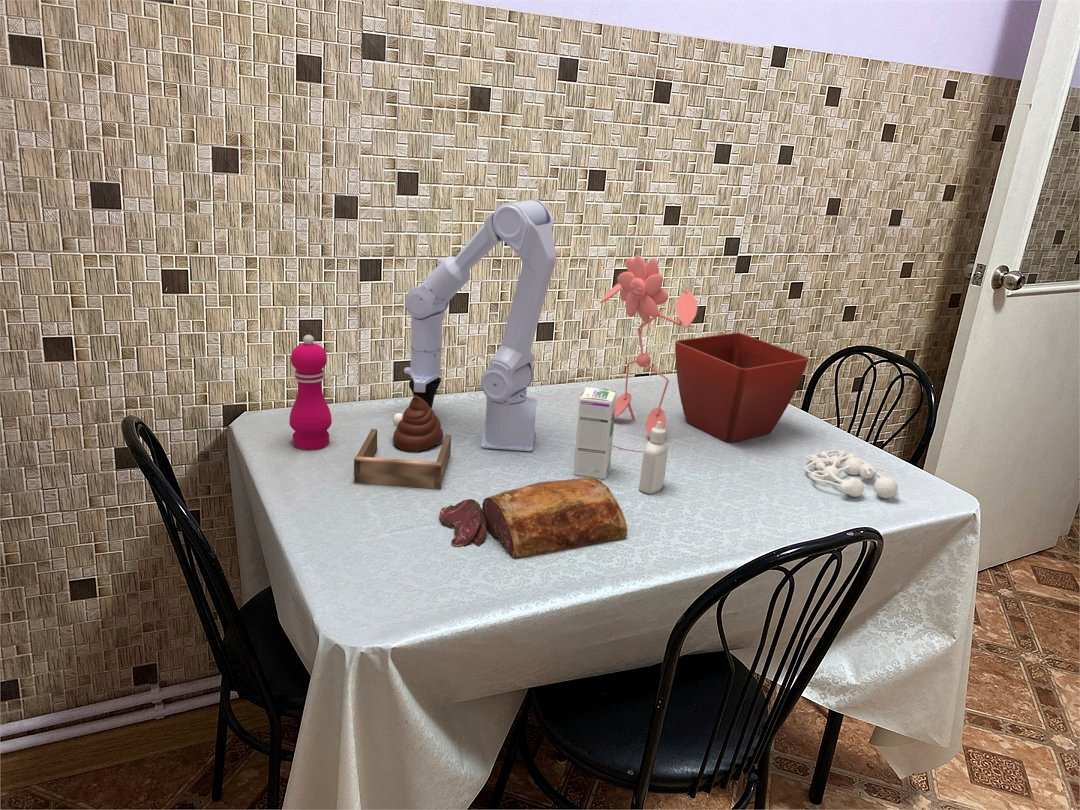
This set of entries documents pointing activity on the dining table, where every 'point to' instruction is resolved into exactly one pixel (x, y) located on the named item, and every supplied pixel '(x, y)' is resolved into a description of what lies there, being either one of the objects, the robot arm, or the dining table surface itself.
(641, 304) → the figurine
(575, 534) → the cured meat
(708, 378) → the plant pot
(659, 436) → the eye dropper bottle
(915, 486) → the dining table surface
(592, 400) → the syrup box
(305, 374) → the pepper mill
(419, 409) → the poop emoji
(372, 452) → the frame
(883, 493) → the tangled rod sculpture
